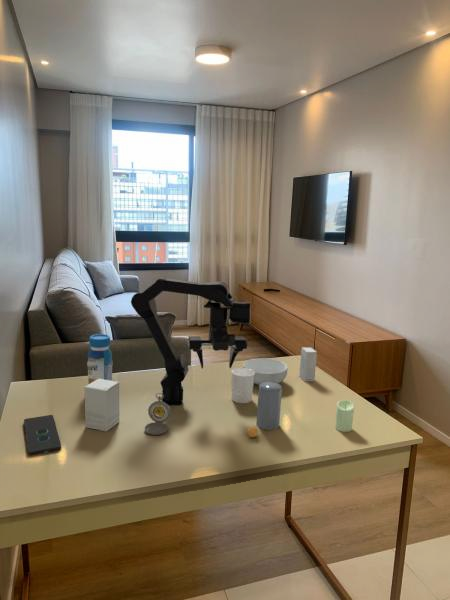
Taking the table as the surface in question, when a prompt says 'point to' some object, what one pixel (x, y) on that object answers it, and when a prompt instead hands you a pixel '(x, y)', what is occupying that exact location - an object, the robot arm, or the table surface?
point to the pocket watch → (158, 425)
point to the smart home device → (41, 435)
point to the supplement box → (102, 404)
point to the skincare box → (308, 364)
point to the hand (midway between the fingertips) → (216, 367)
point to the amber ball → (252, 431)
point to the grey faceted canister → (269, 405)
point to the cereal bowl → (267, 370)
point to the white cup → (242, 385)
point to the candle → (344, 416)
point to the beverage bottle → (99, 358)
